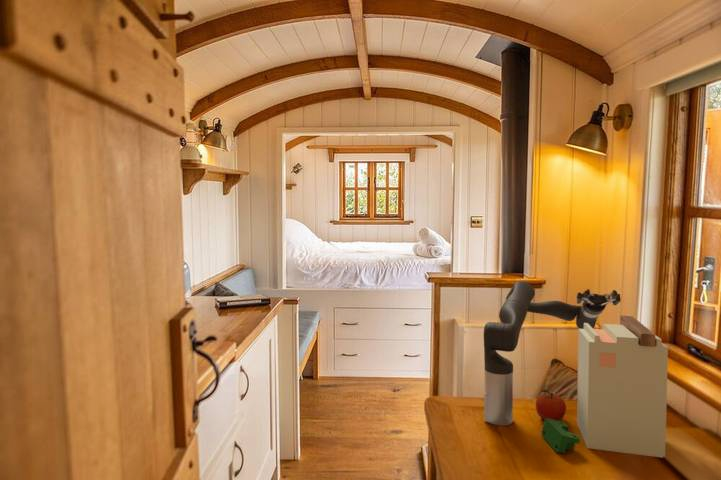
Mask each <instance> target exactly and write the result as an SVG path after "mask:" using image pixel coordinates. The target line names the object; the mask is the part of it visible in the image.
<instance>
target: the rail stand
mask: <svg viewBox="0 0 721 480" xmlns="http://www.w3.org/2000/svg"><path fill="white" fill-rule="evenodd" d="M577 331H578V333H577V334H578V338H577V339H578V340H577V347H578V348H577V393H576V394H577V398H576V399H577V402H576V403H577V404H576V405H577V406H576V410H577V411H576V414H577V415H576V425H577V427H578V429H579V431H580V434H581V436H582V438H583V441H584V444H585V447H586V449H590V450H591V449H593V450H599V451H607V452H615V453H624V454H631V455H638V456H647V457H656V458H663V456H665V457H666V445H667V444H666V439H667V437H666V436H667V429H666V428H667V401H668V396H667V395H668V357H669V354H668V353H669V347H668V345H666V344H665V343H663V342H662V340H663V339H662V338H661V337H659V336H657V335H656V334H655V347H649V346H640V345H639V344H638V343H639V338H638V337H637V336H635V335H634V334H633V333H632V332H630V331H629V330H628V329H627V328H625V327H624V326H623V325H620V324H614V323H613V324H610V323H603V324H602V329H600V328H592V327H591V326H590V325H589V324H588V323H584V329H579V328H578V329H577ZM663 459H664V458H663Z"/></svg>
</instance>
